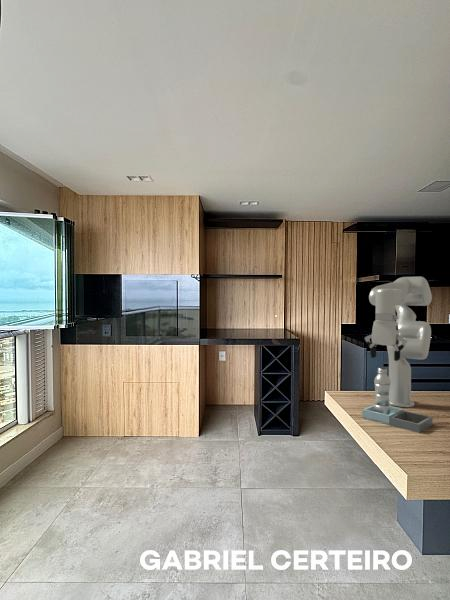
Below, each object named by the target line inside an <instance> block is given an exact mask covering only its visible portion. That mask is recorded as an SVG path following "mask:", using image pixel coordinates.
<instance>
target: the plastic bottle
mask: <svg viewBox="0 0 450 600" xmlns="http://www.w3.org/2000/svg"><path fill="white" fill-rule="evenodd" d="M373 382H374V393H375V397H374V398H375V399H374V404H373V405H374V412H378V413H382V414H386V415H389V414H390V411H391V410H390V406H391V405H389V390H390V383H391V381H390V379H389V375H388V368H387V367H377V374H376V376H375V377H374V380H373Z"/></svg>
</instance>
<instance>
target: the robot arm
mask: <svg viewBox="0 0 450 600" xmlns="http://www.w3.org/2000/svg"><path fill="white" fill-rule="evenodd" d="M430 288H431V287H430V284H429V282H428V281H427V279H426V278H425V277H424V276H402V277H399V278H397V279H396V280H394V281H393V282H388V283H384V284H380V285H376V286H375V287H373V288H371V290H370V292H369V295H368V300H369V303H370V304H371V305H372V306H375V320H374V321H373V325H372V330H371V331H372V332H371V334H369V335H367V336H365V337H364V341H365V342H366V345H367V346H368V347H369V348H370V351H369V352H370V353H369V354H370V358H372V359H374V358H376V357H377V345H380V346H386V350H387V354H388V356H387V357H388V377H389V379H390V381H391V383H390V390H389V405H390V406H392V407H397V408H412V407H415V402H414V401H412V396H413V395H412V367H411V364H410V363H409V361H407V359H411V360H425V359H427V357H428V356H429V350H430V344H431V338H432V337H431V336H432V328H431V325H430V324H429V322H426V321H421V320H418V321H417V320H416V319H417V315H416V313H415V312H414V311H413V310H412V308H410V307H409V306H415V307H417V306H418V307H419V306H423V307H425V306H426V307H427V306H429V305H430V304H431V303H432V300H433V295H432V291H431V289H430ZM370 339H371V340H370Z"/></svg>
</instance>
